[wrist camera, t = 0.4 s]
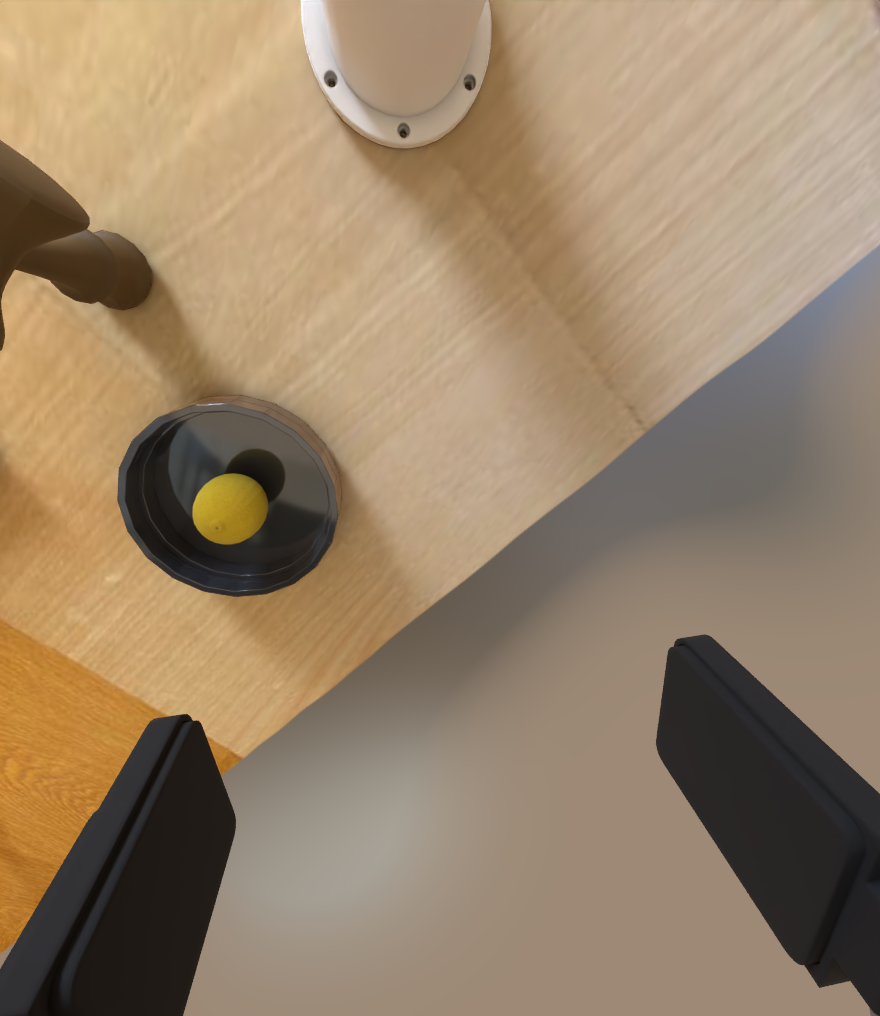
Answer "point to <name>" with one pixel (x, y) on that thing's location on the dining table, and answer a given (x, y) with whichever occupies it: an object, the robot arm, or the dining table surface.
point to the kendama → (62, 241)
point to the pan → (225, 450)
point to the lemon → (230, 508)
